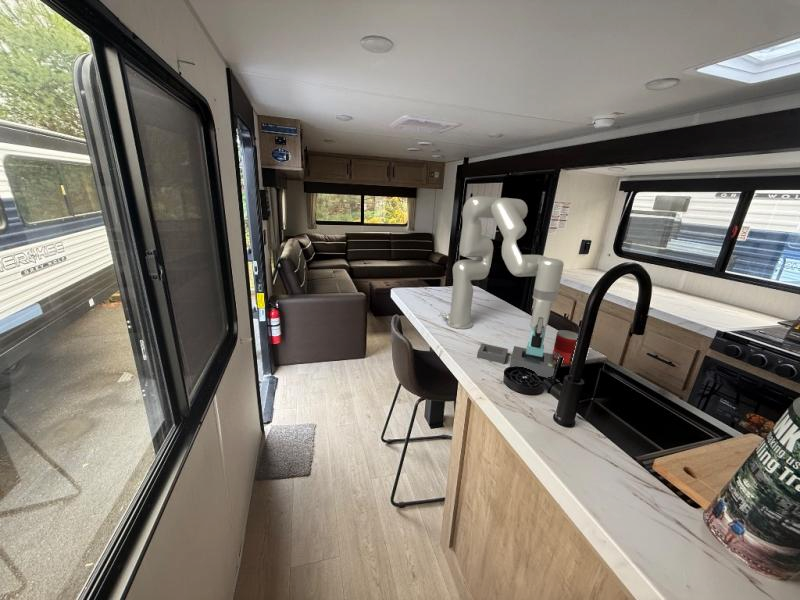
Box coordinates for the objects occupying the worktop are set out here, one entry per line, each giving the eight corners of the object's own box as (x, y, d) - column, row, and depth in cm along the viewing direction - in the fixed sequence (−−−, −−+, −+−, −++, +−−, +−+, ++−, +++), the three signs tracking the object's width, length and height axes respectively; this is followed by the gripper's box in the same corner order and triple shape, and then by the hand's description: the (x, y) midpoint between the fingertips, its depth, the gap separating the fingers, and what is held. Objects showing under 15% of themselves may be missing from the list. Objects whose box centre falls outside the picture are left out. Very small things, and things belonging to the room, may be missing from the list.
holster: (476, 357, 116) (477, 351, 116) (481, 348, 124) (482, 343, 123) (504, 364, 112) (505, 357, 112) (507, 354, 120) (507, 348, 119)
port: (509, 368, 109) (511, 356, 108) (512, 355, 120) (514, 344, 119) (552, 379, 104) (555, 366, 103) (551, 364, 114) (554, 353, 113)
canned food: (574, 367, 113) (580, 339, 110) (550, 361, 117) (556, 334, 114) (575, 359, 119) (581, 333, 116) (552, 353, 123) (558, 328, 120)
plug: (525, 353, 109) (530, 330, 107) (526, 349, 113) (530, 326, 111) (542, 357, 107) (546, 333, 105) (542, 352, 111) (546, 329, 109)
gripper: (534, 288, 113) (525, 334, 118) (532, 298, 99) (522, 351, 104) (556, 291, 110) (547, 339, 115) (558, 302, 96) (547, 356, 101)
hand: (535, 344), depth 109 cm, fingers closed on plug, 3 cm apart
